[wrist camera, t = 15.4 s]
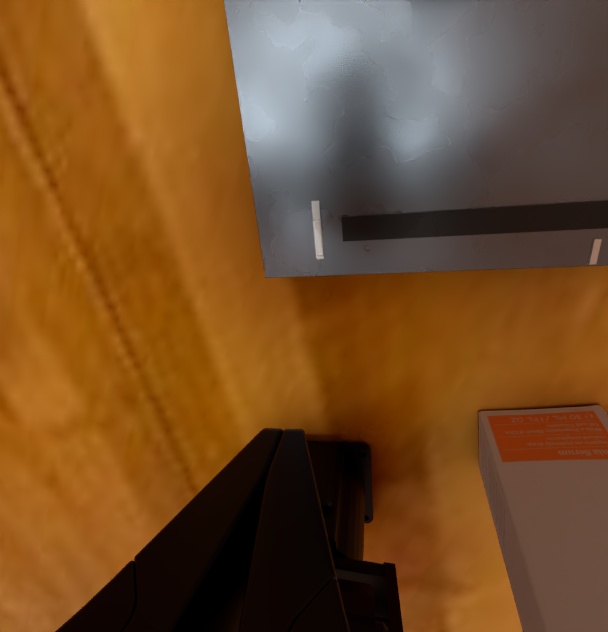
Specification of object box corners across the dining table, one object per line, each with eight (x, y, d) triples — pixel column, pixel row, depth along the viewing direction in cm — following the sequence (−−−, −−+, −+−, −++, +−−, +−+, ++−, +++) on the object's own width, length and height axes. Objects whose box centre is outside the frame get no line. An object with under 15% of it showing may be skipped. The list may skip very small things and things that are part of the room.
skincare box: (600, 400, 21) (822, 699, 11) (592, 462, 23) (774, 769, 13) (473, 407, 23) (558, 679, 12) (475, 465, 24) (550, 745, 14)
